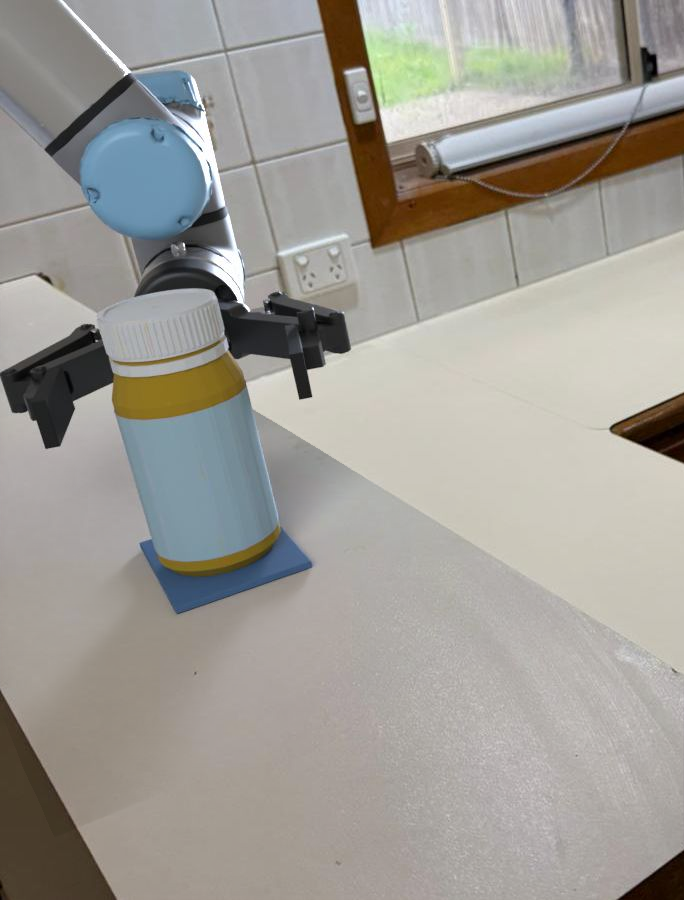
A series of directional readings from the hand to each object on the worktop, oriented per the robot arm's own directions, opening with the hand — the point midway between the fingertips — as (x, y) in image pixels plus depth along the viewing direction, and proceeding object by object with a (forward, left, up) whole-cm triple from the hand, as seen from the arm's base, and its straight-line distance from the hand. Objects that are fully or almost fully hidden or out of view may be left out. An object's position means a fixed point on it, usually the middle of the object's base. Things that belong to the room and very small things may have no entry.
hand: (176, 400), depth 63 cm
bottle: (0, 0, -10) cm, 10 cm away
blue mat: (0, 0, -10) cm, 10 cm away
